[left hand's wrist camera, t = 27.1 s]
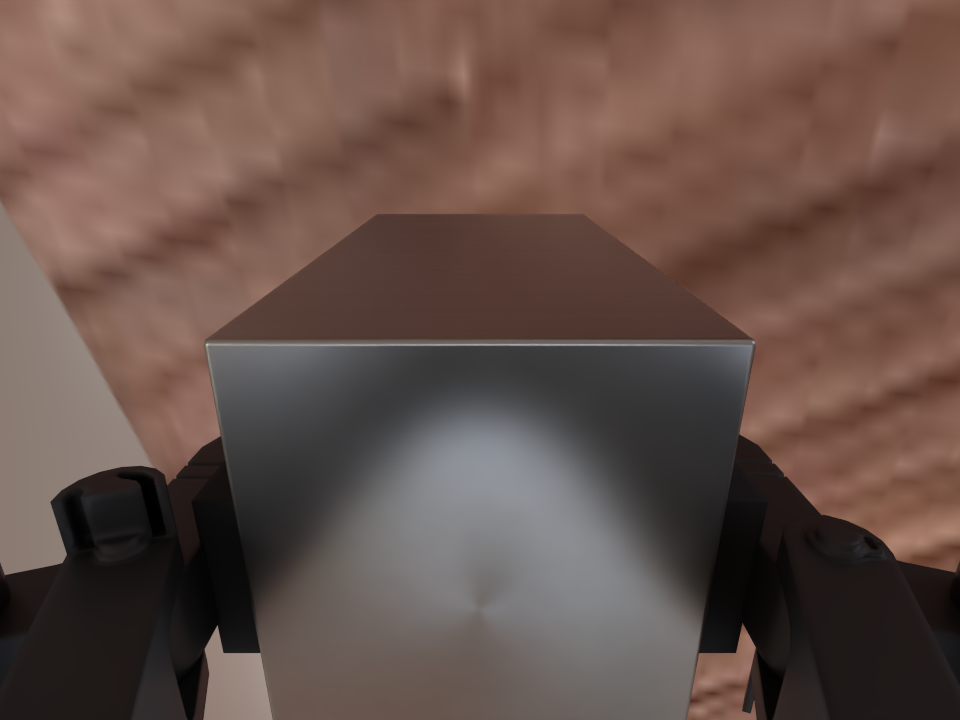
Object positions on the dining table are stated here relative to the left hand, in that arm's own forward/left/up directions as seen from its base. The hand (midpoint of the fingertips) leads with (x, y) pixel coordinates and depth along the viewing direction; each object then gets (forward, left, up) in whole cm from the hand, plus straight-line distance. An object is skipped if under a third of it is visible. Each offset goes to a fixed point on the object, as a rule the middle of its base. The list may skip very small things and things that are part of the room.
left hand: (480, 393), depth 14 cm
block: (0, 0, -5) cm, 5 cm away
